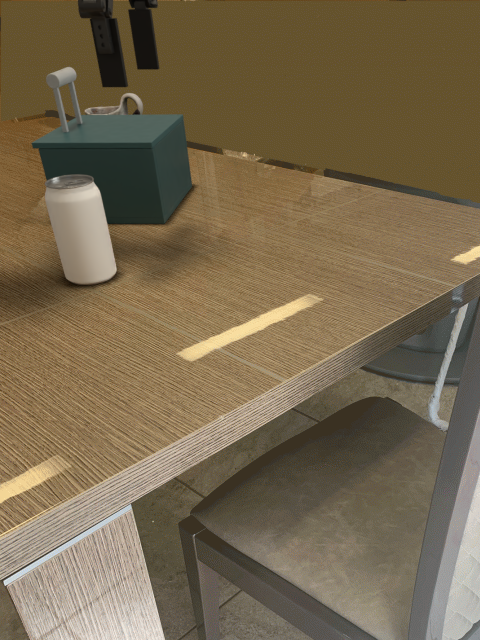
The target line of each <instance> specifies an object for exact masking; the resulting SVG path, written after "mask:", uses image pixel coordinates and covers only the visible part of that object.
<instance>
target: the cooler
mask: <svg viewBox="0 0 480 640" xmlns="http://www.w3.org/2000/svg"><path fill="white" fill-rule="evenodd" d="M185 127H186V126H185V120H184V119H183V120H182V121H181V122H180V123H179V124H178V125H177V126H176V127H175V128H174V129H173V130H172V131H170V132H169V133H168V134H167V135H166V136H165V137H164V138H163V139H162V140H161V141H160V142H158V143H157V144H156V145H155V146H154V147H153V148H42V149H38V153H39V157H40V160H41V161H40V162H41V164H42V170H43V173H44V175H45V180H46V181H47V180H49V179H52V178H55V177H59V176H64V175H77V174H79V175H88V176H91V177H93V178H94V183H95V185H96V186H97V187H98V189H99V191H100V194H101V198H102V202H103V207H104V211H105V216H106V221H107V225H111V224H113V225H119V224H121V225H123V224H124V225H165V224H166V222H168V220H169V219H170V217H171V216H172V215H173V213H174V212H175V210H176V209H177V208H178V206H179V205H180V203H182V201H183V199H184V198H185V197H186V196H187V194H188V193H189V191H190V190H191V189H192V188H193V181H192V172H191V165H190V159H189V158H190V157H189V150H188V143H187V136H186V135H187V134H186V128H185Z"/></svg>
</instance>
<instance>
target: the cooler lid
mask: <svg viewBox="0 0 480 640" xmlns="http://www.w3.org/2000/svg"><path fill="white" fill-rule="evenodd" d="M76 79H77V72H76V70H75V69H74V68H73V67H71V66H67V67H66V66H65V67H63V68H61V69H59V70H56V71H53V72H51V73H48V74H47V75H46V78H45V82H46V84H47V86H48V87H49V88H51V89H52V91H53V96H54V100H55V104H56V109H57V112H58V117H59V121H60V126H58V127H56V128H55V129H53V130H52V131H50V132H48V133H46V134H44V135H43V136H41V137H39V138H37V139H35V140H34V141H32V142H31V146H32V149H34V150H36V149H42V148H153V147H154V146H155V145H156V144H157V143H158V142H160V141H161V140H162V139H163V138H164V137H165V136H166V135H167V134H168V133H169V132H170V131H172V130H173V129H174V128H175V127H176V126H177V125H178V124H179V123H180V122H181V121H182V120H184V118H185V117H184V114H182V113H181V114H179V113H178V114H177V113H175V114H170V113H169V114H168V113H167V114H142V115H132V114H128V115H86V114H82V113H81V109H80V105H79V101H78V96H77V91H76V87H75V81H76ZM66 85H68V89H69V93H70V98H71V102H72V108H73V111H74V116H75V117H74V118H73V119H71V120H69V121H67V118H66V113H65V108H64V104H63V100H62V95H61V91H60V88H61V87H63V86H66Z"/></svg>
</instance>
